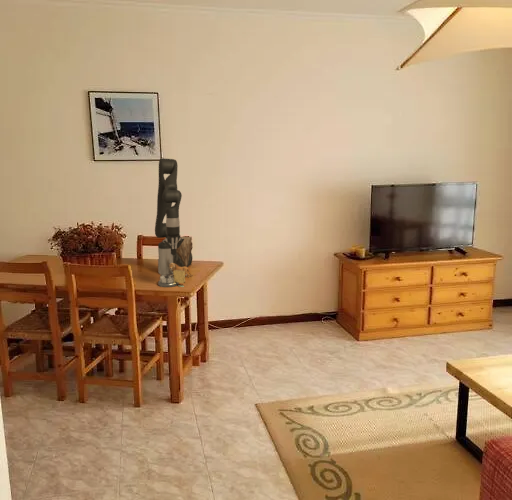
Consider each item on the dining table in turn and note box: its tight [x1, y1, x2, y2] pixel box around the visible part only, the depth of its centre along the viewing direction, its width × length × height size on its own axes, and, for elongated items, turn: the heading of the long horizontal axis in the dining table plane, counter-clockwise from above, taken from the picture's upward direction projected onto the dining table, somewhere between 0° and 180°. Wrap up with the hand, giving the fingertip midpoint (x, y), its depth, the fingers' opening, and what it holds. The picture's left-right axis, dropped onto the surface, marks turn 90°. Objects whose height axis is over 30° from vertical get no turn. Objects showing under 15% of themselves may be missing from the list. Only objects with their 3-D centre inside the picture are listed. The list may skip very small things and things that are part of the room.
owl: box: [173, 235, 193, 268], centre depth 342 cm, size 13×13×20 cm
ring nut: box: [159, 270, 186, 284], centre depth 293 cm, size 16×10×7 cm, turn 67°
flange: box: [157, 274, 180, 288], centre depth 295 cm, size 12×12×6 cm
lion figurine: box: [169, 263, 193, 278], centre depth 313 cm, size 15×5×9 cm, turn 91°
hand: (173, 255), depth 283 cm, fingers closed
